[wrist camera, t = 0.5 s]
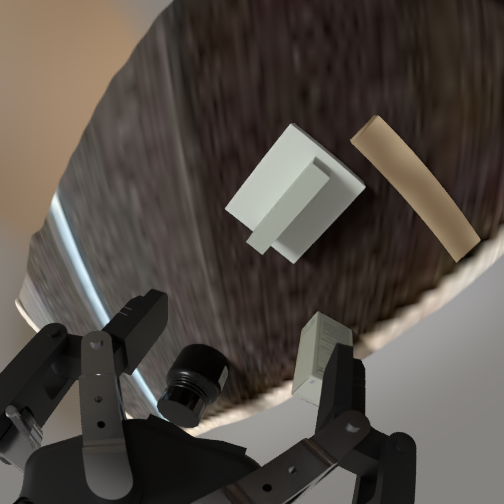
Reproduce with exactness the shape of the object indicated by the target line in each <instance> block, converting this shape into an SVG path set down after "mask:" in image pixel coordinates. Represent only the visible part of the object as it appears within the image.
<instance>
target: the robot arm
mask: <svg viewBox="0 0 504 504" xmlns="http://www.w3.org/2000/svg"><path fill="white" fill-rule="evenodd" d="M167 321H168V295H167V294H166V293H164V292H161V291H158V290H155V289H151V290H150V291H149V292H148V293H147V294H146V295H145V296H144V297H143V296H140V295H139V296H137V297H135V298H133V299H131V300H130V301H129V302H128V303H127V304H126V305H125V306H124V308H122V309H121V310H120V311H119V313H117V314H116V315H115V316H114V317H113V318H112V320H111V321H110V322H109V323H108V324H107V325H106V326H105V327H104V328H103V329H102V330H101V331H100V330H95V331H91V332H88V333H87V334H85V335H84V336H78V335H72V334H68V332H67V329H66V327H65V326H64V325H62V324H60V323H50V324H48V325H46V326H44V327H43V328H42V329H41V330H40V331H39V332H38V333H37V334H36V335H35V336H34V337H33V339H31V341H30V342H29V343H28V344H27V345H26V346H25V347H24V348H23V349H22V350H21V351H20V352H19V353H18V355H16V357H15V358H14V359H13V360H12V361H11V362H10V363H9V364H8V365H7V367H6V368H5V369H4V370H3V371H2V372H1V373H0V460H1V461H2V462H4V463H5V464H9V465H13V466H15V467H16V468H18V469H19V470H20V471H21V472H23V473H24V480H23V486H22V490H21V493H20V495H19V498H18V499H17V500H16V501H15V502H14V503H13V504H293V503H294V502H296V501H297V500H298V499H300V498H301V497H302V496H303V495H305V494H306V493H307V492H308V491H309V490H310V489H312V488H313V487H314V486H315V485H317V484H318V483H319V482H320V481H322V480H323V479H324V478H325V477H326V476H328V475H329V474H330V473H331V472H332V471H333V470H335V469H336V468H337V467H338V466H340V467H342V468H344V469H346V470H348V471H350V472H352V473H354V474H357V478H356V483H355V489H354V494H353V500H352V504H414V501H415V484H416V444H415V441H414V440H413V438H412V437H410V436H409V435H408V434H406V433H403V432H396V433H393V434H391V435H390V436H388V435H386V434H384V433H381V432H379V431H377V430H375V429H374V428H373V427H371V425H370V422H369V420H368V418H367V417H366V416H365V367H364V365H363V363H362V361H361V360H360V359H355V358H353V346H350V345H345V344H341V343H336V345H335V347H334V350H333V352H332V354H331V356H330V359H329V361H328V363H327V365H326V368H325V371H324V374H323V380H322V388H321V395H320V402H319V409H318V416H317V422H316V429H315V435H313V436H312V437H311V438H309V439H307V438H305V439H303V440H301V441H300V442H298V443H297V444H295V445H294V446H292V447H291V448H289V449H288V450H287V451H285V452H284V453H282V454H281V455H279V456H278V457H276V458H274V459H273V460H271V461H270V462H268V463H267V464H265V465H264V466H262V467H261V466H260V465H259V464H258V463H257V462H256V461H255V460H253V459H252V458H250V457H249V456H247V455H245V452H246V449H247V448H244V447H241V446H237V445H234V444H231V443H227V442H224V441H219V440H210V439H201V438H195V437H193V436H191V435H190V434H188V433H187V432H185V431H184V430H182V429H181V428H179V427H178V426H176V425H175V424H173V423H171V422H169V421H166V420H164V419H161V418H159V417H157V416H154V415H152V414H150V415H149V417H148V419H147V420H146V419H127V418H126V414H125V409H124V403H123V397H122V391H121V385H120V378H119V377H120V375H121V374H122V373H123V372H124V373H126V374H128V375H131V374H132V373H133V372H134V370H135V369H136V368H137V366H138V365H139V363H140V362H141V361H142V359H143V358H144V357H145V355H146V354H147V352H148V351H149V350H150V348H151V347H152V346H153V344H154V343H155V342H156V340H157V339H158V338H159V336H160V335H161V333H162V332H163V331H164V329H165V327H166V325H167ZM76 380H79V397H80V414H81V425H82V435H79V436H76V437H73V438H70V439H67V440H63V441H60V442H57V443H53V444H50V445H46V446H43V447H41V441H42V438H43V433H42V430H41V428H42V427H43V425H44V424H45V422H46V421H47V420H48V418H49V416H50V415H51V414H52V412H53V411H54V410H55V408H56V407H57V405H58V404H59V403H60V401H61V400H62V398H63V397H64V396H65V394H66V393H67V392H68V390H69V389H70V387H71V386H72V384H73V383H74V382H75V381H76Z"/></svg>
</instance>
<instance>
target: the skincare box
mask: <svg viewBox="0 0 504 504" xmlns="http://www.w3.org/2000/svg"><path fill="white" fill-rule="evenodd" d="M336 343H341V344H345V345H350V346H353V339H352V330H350V329H349V328H347V327H345V326H344V325H342V324H340V323H338V322H337V321H335V320H333V319H331V318H330V317H328V316H326V315H324V314H322V313H320V312H317V313H316V314H315V315H314V316H313V317H312V318H311V320H310V321H309V322H308V323H307V324H306V326H305V327H304V328H303V329H302V331H301V338H300V344H299V351H298V357H297V363H296V369H295V375H294V381H293V387H292V393H291V394H292V395H293V396H295V397H297V398H299V399H301V400H304V401H306V402H308V403H310V404H313V405H315V406H317V407H319V402H320V395H321V388H322V380H323V374H324V371H325V368H326V365H327V363H328V361H329V359H330V356H331V354H332V352H333V350H334V347H335V345H336Z"/></svg>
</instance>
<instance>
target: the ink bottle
mask: <svg viewBox="0 0 504 504" xmlns="http://www.w3.org/2000/svg"><path fill="white" fill-rule="evenodd" d="M228 374H229V365H228V363H227V361H226V360H225V358H224V357H223V356H222V355H221V354H220V353H218V352H217V351H216V350H214V349H212V348H211V347H208V346H206V345H202V344H192V345H189V346H186V347H185V348H184V349H183V350H182V351H181V352H180V354H179V356H178V357H177V359H176V360H175V362H174V364H173V365H172V367H171V368H170V370H169V372H168V373H167V376H166V383H167V386H168V387H167V388H166V389H165V391H164V393H163V394H162V396H161V398H160V399H159V401H158V404H157V408H158V410H159V412H160V413H161V414H162V416H163V417H164V418H166V419H167V420H169V421H170V422H171V423H174V424H176V425H178V426H181V427H185V428H194V427H196V426H198V424H199V422H200V420H201V418H202V416H203V414H204V411H205V409H206V407H207V406H210V405H212V404H213V403H215V402H216V401H217V399H218V397H219V395H220V393H221V391H222V388H223V386H224V384H225V381H226V379H227V377H228Z"/></svg>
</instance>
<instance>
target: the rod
mask: <svg viewBox="0 0 504 504" xmlns="http://www.w3.org/2000/svg"><path fill="white" fill-rule="evenodd" d="M350 141H351V143H352V144H353V145H354V146H355V147H356V148H357V149H358V150H359V151H360V152H361V153H362V154H363V155H364V156H365V157H366V158H367V159H368V160H369V161H370V162H371V163H372V164H373V165H374V166H375V167H376V168H377V169H378V170H379V171H380V172H381V173H382V174H383V175H384V176H385V177H386V178H387V179H388V181H389V182H390V183H391V184H392V185H393V186H394V187H395V188H396V189H397V190H398V191H399V193H400V194H401V195H402V196H403V197H404V198H405V199H406V200H407V202H408V203H409V204H410V205H411V206H412V207H413V209H414V210H415V211H416V212H417V213H418V214H419V216H420V217H421V218H422V219H423V220H424V222H425V223H426V224H427V225H428V227H429V228H430V229H431V230H432V231H433V233H434V234H435V235H436V236H437V238H438V239H439V240H440V242H441V243H442V244H443V245H444V247H445V248H446V249H447V251H448V252H449V253H450V255H451V256H452V257H453V259H454V260H455V261H456V262H458V261H459V260H460V259H461V258H462V257H463V256H464V255H465V254H466V253H468V252H469V251H470V250H471V249H472V248H473V247H474V246H475V245H476V244H477V243H478V242H479V241H480V238H479V237H478V235H477V234H476V232H475V231H474V229H473V228H472V227H471V225H470V224H469V222H468V221H467V219H466V218H465V216H464V215H463V214H462V212H461V211H460V210H459V208H458V207H457V205H456V204H455V203H454V201H453V200H452V199H451V197H450V196H449V195H448V194H447V192H446V191H445V190H444V188H443V187H442V186H441V185H440V183H439V182H438V181H437V180H436V178H435V177H434V176H433V175H432V173H431V172H430V171H429V170H428V169H427V167H426V166H425V165H424V164H423V163H422V162H421V160H420V159H419V158H418V157H417V156H416V155H415V154H414V152H413V151H412V150H411V149H410V148H409V147H408V146H407V145H406V144H405V142H404V141H403V140H402V139H401V138H400V137H399V136H398V135H397V134H396V133H395V132H394V131H393V130H392V129H391V128H390V127H389V126H388V125H387V124H386V122H385V121H384V120H383V119H382V118H381V117H380V116H373V117H372V118H371V119H370V120H369V121H368V122H367V123H366V125H365V126H364V127H363V128H362V129H361V130H360V131H359V132H358V133H357V134H356V135H355V136H354V137H353V138H352V139H351V140H350Z"/></svg>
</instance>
